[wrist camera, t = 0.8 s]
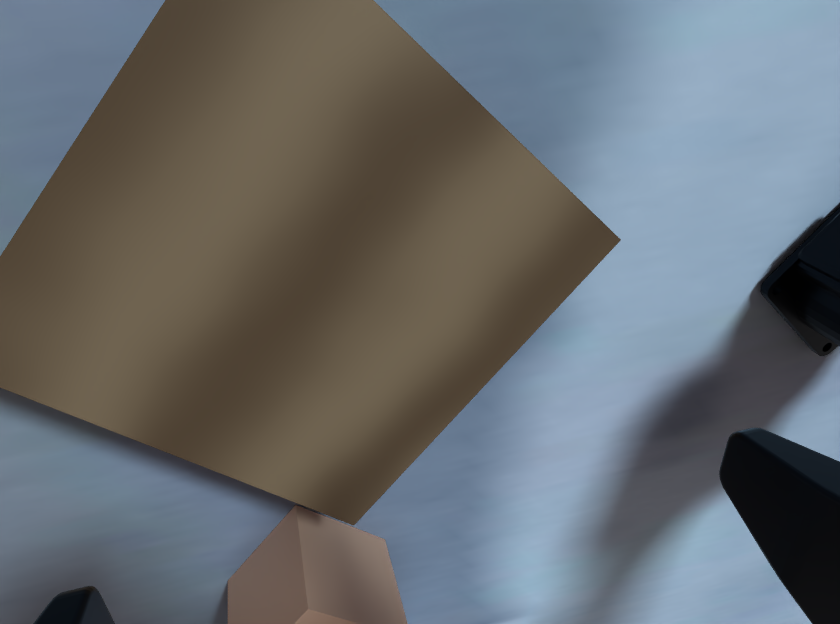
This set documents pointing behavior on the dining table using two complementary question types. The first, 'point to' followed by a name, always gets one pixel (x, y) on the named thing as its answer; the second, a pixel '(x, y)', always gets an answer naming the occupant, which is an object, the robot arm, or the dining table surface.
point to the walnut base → (286, 251)
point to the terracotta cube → (316, 576)
